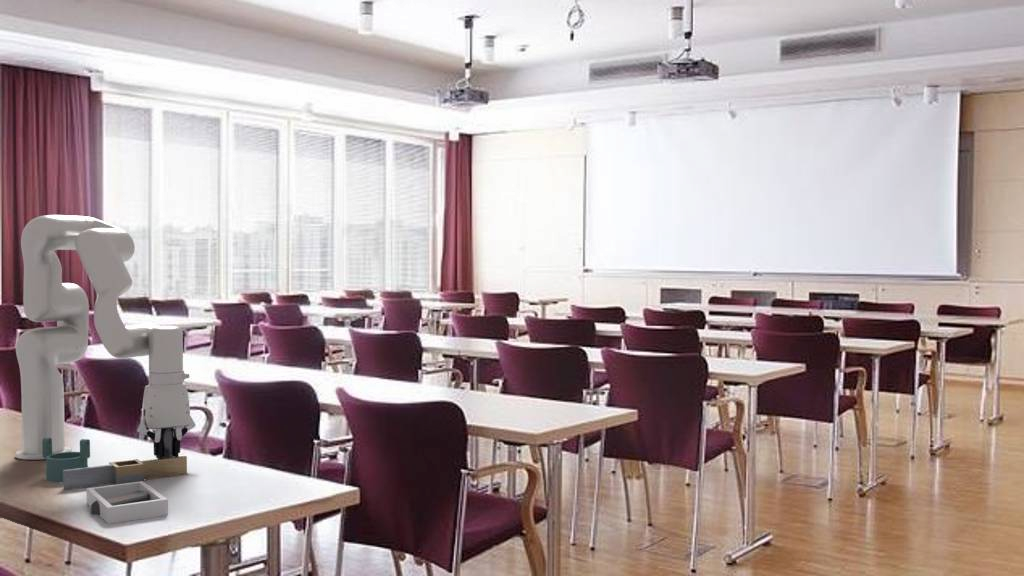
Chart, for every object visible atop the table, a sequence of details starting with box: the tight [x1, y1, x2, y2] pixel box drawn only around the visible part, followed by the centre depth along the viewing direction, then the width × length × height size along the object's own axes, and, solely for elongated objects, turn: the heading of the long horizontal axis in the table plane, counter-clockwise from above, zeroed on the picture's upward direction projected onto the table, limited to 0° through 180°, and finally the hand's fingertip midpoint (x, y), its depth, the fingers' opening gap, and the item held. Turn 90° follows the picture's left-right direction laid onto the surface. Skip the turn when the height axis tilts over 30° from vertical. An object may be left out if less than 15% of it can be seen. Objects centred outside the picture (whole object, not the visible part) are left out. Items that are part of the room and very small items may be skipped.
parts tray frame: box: [85, 481, 169, 524], centre depth 196 cm, size 18×11×3 cm, turn 35°
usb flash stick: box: [90, 490, 150, 517], centre depth 196 cm, size 5×12×3 cm, turn 146°
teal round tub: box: [42, 438, 91, 483], centre depth 223 cm, size 9×9×9 cm
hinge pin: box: [160, 428, 174, 458], centre depth 232 cm, size 3×3×10 cm
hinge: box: [62, 455, 188, 490], centre depth 220 cm, size 26×6×4 cm, turn 125°
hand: (167, 456), depth 232 cm, fingers closed on hinge pin, 3 cm apart
